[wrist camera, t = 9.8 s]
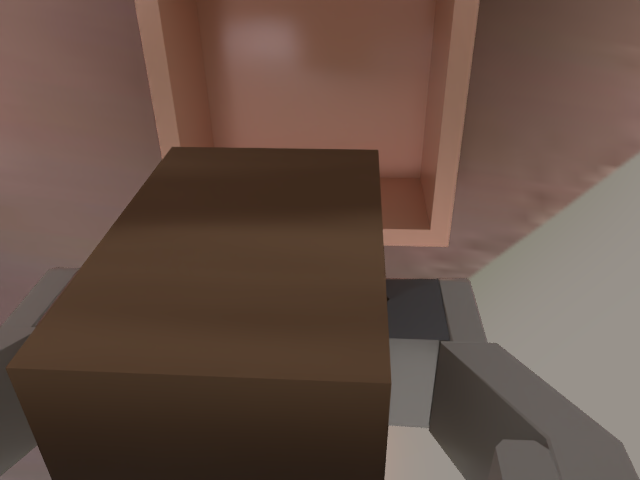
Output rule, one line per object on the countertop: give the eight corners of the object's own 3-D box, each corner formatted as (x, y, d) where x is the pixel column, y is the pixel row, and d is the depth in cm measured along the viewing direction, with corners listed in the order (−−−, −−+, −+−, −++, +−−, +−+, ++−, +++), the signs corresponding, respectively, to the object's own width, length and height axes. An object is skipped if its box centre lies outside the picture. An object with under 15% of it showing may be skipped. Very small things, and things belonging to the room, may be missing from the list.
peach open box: (173, -75, 20) (122, -64, 16) (460, -78, 19) (488, -68, 15) (207, 181, 25) (176, 240, 21) (433, 185, 25) (448, 246, 20)
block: (172, 146, 11) (4, 367, 6) (378, 149, 11) (392, 383, 6) (197, 308, 13) (91, 573, 8) (370, 313, 13) (375, 592, 8)
